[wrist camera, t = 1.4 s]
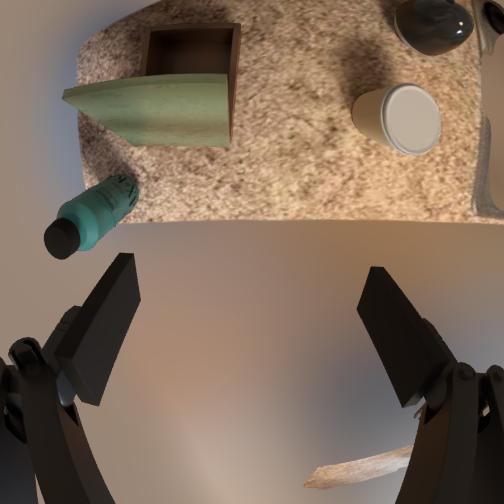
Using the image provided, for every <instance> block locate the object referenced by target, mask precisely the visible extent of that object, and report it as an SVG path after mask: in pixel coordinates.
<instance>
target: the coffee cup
mask: <svg viewBox="0 0 504 504" xmlns="http://www.w3.org/2000/svg"><path fill="white" fill-rule="evenodd" d="M352 118H353V122H354V124H355V126H356V128H357V129H358V131H359V132H360V133H361V134H363V135H364V136H366V137H368V138H370V139H372V140H374V141H377V142H379V143H381V144H384V145H386V146H388V147H391V148H393V149H395V150H397V151H398V152H400V153H402V154H405V155H408V156H419V155H422V154H425V153H427V152H428V151H430V150H431V149H432V148H433V147H434V146H435V144H436V143H437V141H438V139H439V137H440V133H441V115H440V111H439V108H438V106H437V104H436V102H435V100H434V99H433V98H432V96H431V95H430V94H429V93H428V92H426V91H425V90H424V89H423V88H421V87H419V86H417V85H415V84H411V83H400V84H397V85H394V86H391V87H386V88H382V89H378V90H375V91H371V92H368V93H365V94H363V95H361V96H360V97H358V98H357V100H356V101H355V103H354V105H353V109H352Z"/></svg>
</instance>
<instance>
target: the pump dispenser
mask: <svg viewBox="0 0 504 504" xmlns="http://www.w3.org/2000/svg"><path fill="white" fill-rule="evenodd" d="M394 26H395V29H396V32H397V34H398V36H399V37H400V39H401V40H402V41H403V42H404V43H405V44H406V45H407V46H408V47H410V48H411V49H413V50H415V51H417V52H419V53H422V54H424V55H428V56H437V55H441V54H444V53H447V52H449V51H451V50H453V49H455V48H457V47H458V46H460V45H461V44H462V43H463V42H464V41H466V40H467V38H468V37H469V36H470V35H471V33H472V31H473V28H474V22H473V19H472V16H471V14H470V13H469V12H468V10H467V9H466V8H465V7H463V6H462V5H460V4H458V3H456V2H455V0H408V1H406V2H404V3H402V4H400V5H399V6H398V8H397V10H396V13H395V16H394Z"/></svg>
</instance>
